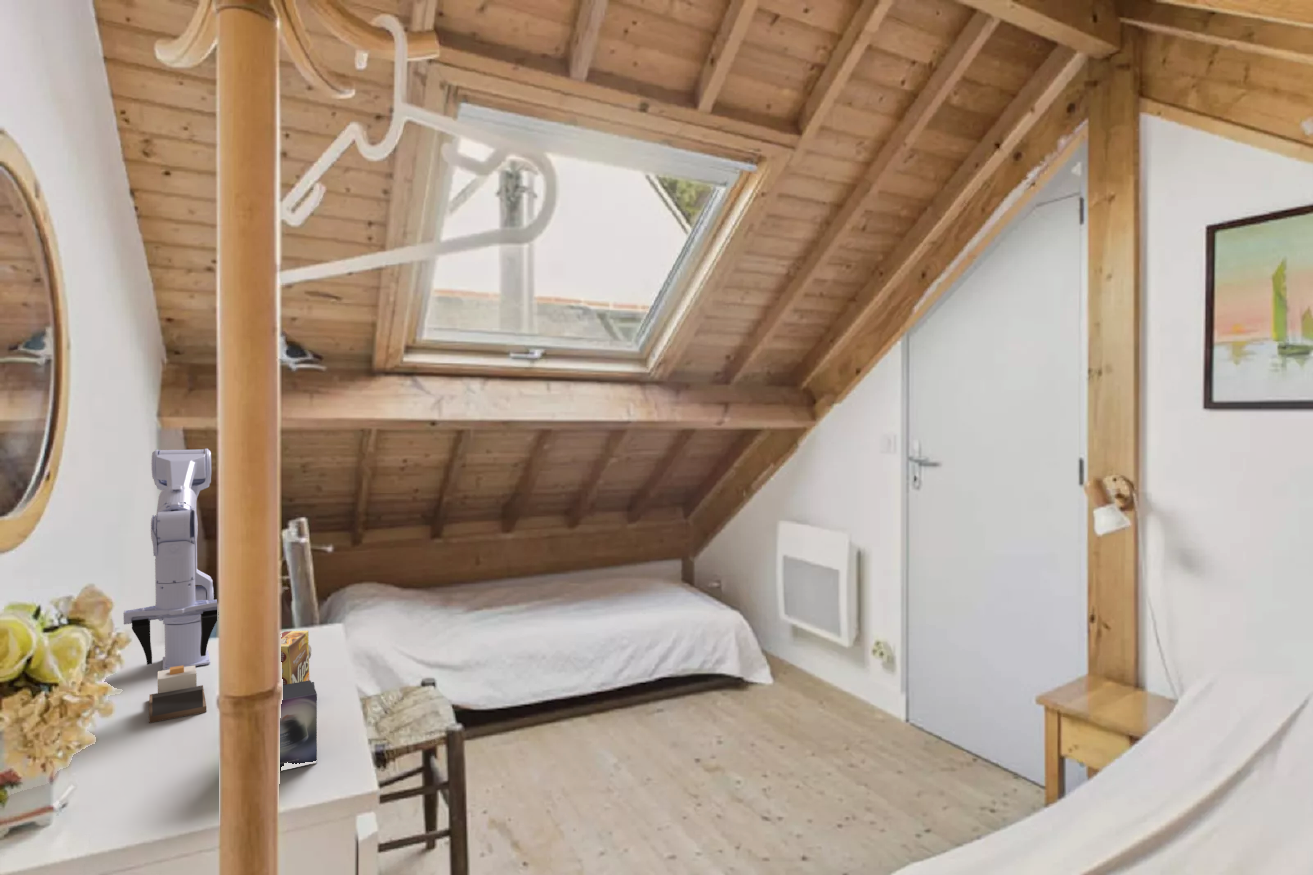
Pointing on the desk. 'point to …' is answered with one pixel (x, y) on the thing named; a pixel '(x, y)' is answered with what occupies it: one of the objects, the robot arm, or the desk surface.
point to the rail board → (176, 704)
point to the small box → (298, 723)
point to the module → (177, 678)
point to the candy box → (295, 656)
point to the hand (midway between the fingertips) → (176, 658)
